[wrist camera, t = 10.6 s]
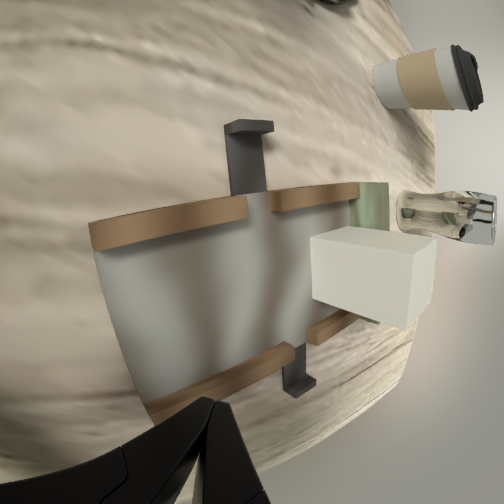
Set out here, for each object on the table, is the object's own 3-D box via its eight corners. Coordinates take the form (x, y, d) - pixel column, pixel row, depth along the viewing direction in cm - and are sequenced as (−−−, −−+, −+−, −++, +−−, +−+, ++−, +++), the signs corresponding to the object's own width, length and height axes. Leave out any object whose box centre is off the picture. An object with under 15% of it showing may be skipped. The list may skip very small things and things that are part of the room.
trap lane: (166, 449, 20) (188, 483, 16) (79, 137, 13) (81, 114, 10) (350, 344, 34) (379, 356, 30) (347, 134, 27) (383, 130, 24)
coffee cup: (396, 127, 34) (490, 125, 22) (365, 92, 29) (477, 79, 17) (398, 83, 34) (482, 75, 22) (368, 47, 29) (463, 29, 17)
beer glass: (390, 212, 35) (492, 224, 23) (403, 177, 37) (495, 183, 25) (403, 241, 39) (492, 257, 27) (414, 207, 41) (497, 217, 29)
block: (312, 298, 27) (404, 330, 19) (309, 237, 25) (413, 254, 17) (348, 279, 30) (430, 301, 22) (348, 225, 28) (437, 238, 20)
